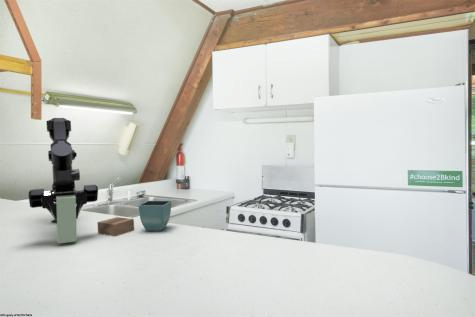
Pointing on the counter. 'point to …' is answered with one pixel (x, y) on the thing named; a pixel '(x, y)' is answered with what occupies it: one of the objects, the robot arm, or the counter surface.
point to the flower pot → (155, 214)
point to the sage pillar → (66, 218)
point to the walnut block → (115, 226)
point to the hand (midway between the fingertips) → (66, 218)
